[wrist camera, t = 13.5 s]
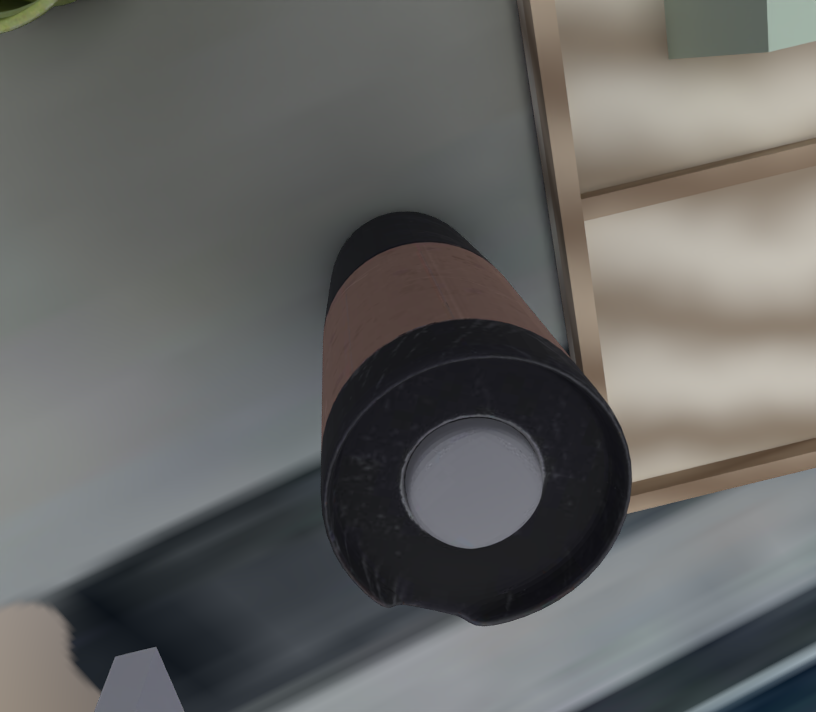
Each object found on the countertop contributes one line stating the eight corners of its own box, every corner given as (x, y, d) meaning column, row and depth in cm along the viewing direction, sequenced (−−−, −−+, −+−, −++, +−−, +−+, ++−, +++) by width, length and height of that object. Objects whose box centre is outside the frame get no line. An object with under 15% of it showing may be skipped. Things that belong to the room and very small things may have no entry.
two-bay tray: (487, -199, 29) (498, -220, 27) (898, -295, 29) (941, -323, 27) (591, 497, 41) (604, 519, 39) (884, 425, 41) (913, 443, 39)
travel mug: (439, 175, 34) (565, 286, 16) (507, 313, 37) (683, 548, 18) (296, 252, 35) (251, 448, 16) (372, 382, 38) (410, 679, 19)
